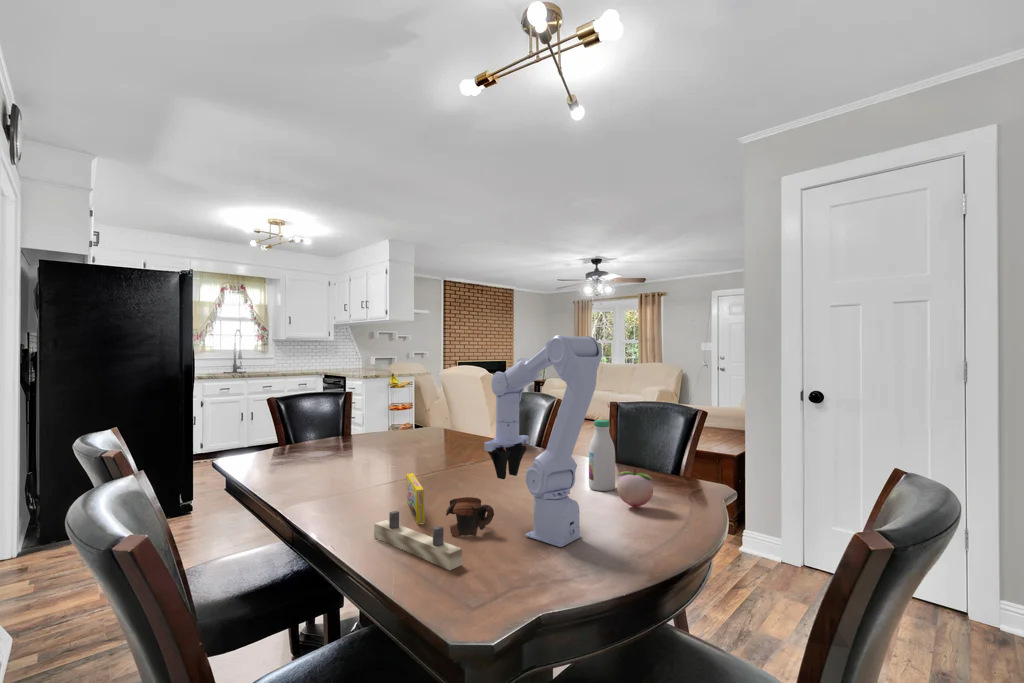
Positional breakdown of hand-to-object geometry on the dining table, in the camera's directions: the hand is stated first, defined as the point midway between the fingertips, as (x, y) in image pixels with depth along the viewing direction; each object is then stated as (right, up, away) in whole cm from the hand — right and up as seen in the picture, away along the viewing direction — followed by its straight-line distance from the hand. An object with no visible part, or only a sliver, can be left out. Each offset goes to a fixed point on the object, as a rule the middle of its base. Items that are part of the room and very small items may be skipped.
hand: (507, 476), depth 117 cm
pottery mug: (-8, -9, -10) cm, 16 cm away
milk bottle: (+28, -11, +24) cm, 39 cm away
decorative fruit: (+33, -10, +6) cm, 35 cm away
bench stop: (-18, -9, -22) cm, 30 cm away
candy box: (-23, -10, +1) cm, 25 cm away
